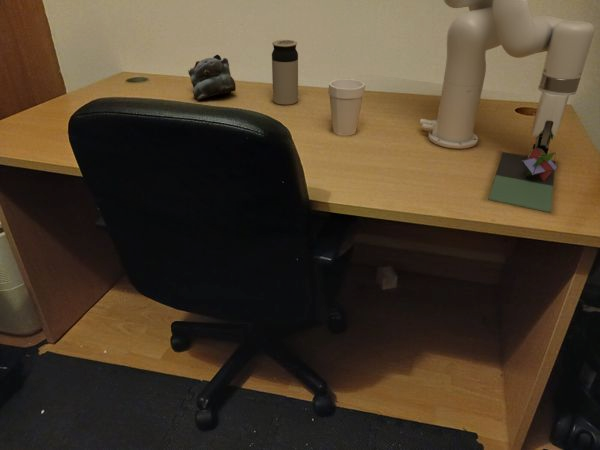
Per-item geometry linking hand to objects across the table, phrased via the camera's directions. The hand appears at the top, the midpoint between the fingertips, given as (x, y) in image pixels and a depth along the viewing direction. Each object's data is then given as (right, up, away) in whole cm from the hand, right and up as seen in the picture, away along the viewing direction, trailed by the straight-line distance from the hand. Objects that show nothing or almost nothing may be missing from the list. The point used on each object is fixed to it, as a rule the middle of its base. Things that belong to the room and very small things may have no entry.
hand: (536, 161), depth 112 cm
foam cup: (-43, +11, +20) cm, 49 cm away
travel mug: (-60, +25, +41) cm, 77 cm away
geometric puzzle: (-2, -4, -4) cm, 6 cm away
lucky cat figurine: (-84, +27, +45) cm, 99 cm away
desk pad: (-5, -5, -4) cm, 8 cm away
